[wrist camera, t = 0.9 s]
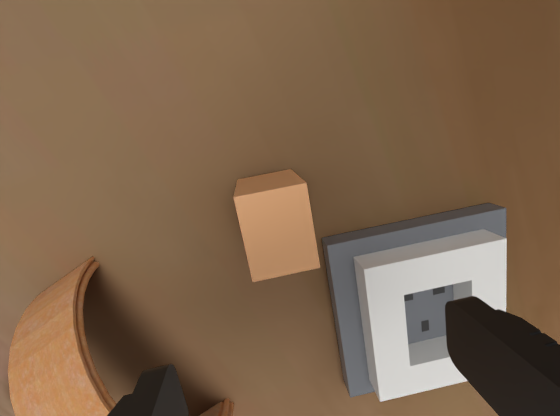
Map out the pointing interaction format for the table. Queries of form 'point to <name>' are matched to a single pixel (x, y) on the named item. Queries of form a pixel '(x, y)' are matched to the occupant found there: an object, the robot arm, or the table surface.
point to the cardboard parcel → (276, 224)
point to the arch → (62, 356)
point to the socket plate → (411, 295)
